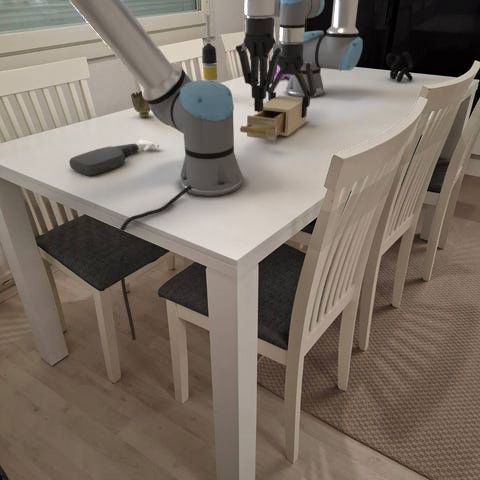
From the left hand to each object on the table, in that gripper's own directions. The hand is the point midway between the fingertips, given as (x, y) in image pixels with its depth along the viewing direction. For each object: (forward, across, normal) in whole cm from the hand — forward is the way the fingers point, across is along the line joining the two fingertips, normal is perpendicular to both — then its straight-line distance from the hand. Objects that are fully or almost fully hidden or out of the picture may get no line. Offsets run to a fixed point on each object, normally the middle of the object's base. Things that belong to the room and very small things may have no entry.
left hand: (258, 110), depth 125 cm
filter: (+11, +40, -43) cm, 60 cm away
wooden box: (+11, 0, -20) cm, 22 cm away
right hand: (+8, 0, -25) cm, 26 cm away
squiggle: (+11, -24, -103) cm, 107 cm away
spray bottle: (+11, +32, +24) cm, 42 cm away
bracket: (+11, +27, -90) cm, 95 cm away
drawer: (+9, 0, -7) cm, 12 cm away
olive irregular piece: (+11, +50, -13) cm, 53 cm away
